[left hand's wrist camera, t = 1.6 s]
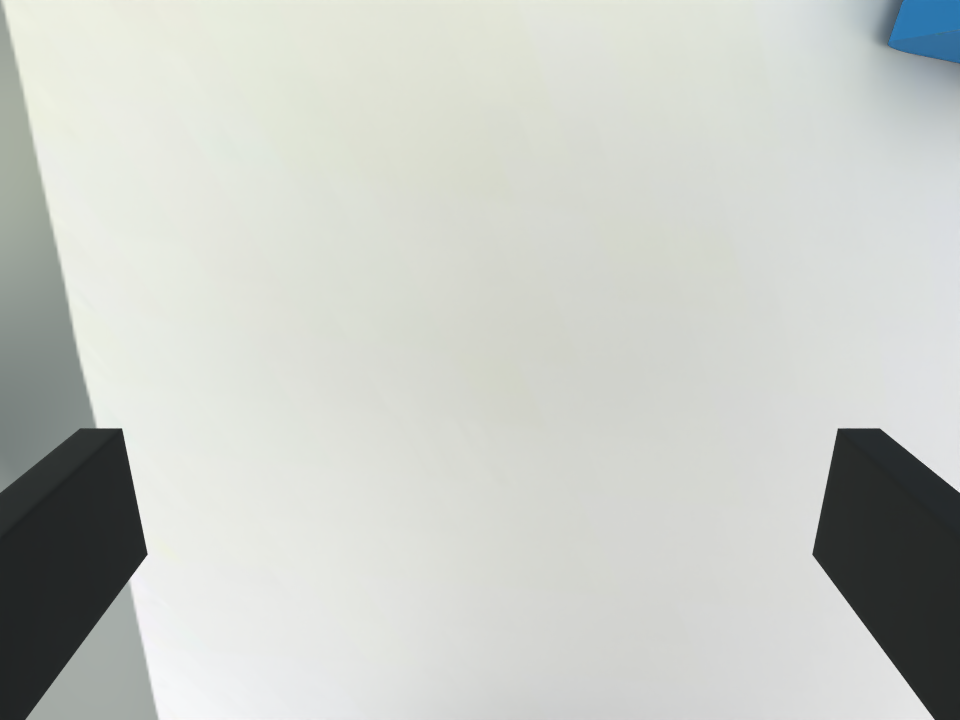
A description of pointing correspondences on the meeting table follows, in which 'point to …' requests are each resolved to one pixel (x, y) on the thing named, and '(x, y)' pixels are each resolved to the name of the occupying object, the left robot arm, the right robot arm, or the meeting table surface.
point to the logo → (928, 29)
